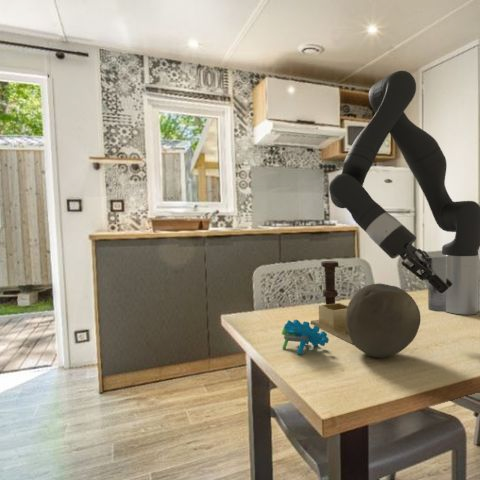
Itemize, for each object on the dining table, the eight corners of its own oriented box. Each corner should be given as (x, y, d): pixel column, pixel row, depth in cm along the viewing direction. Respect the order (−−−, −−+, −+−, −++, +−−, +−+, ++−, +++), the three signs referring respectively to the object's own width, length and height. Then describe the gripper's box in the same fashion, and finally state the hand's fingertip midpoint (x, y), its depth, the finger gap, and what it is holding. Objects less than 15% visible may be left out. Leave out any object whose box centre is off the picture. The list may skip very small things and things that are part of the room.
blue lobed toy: (337, 342, 77) (315, 317, 72) (330, 367, 74) (307, 343, 69) (296, 338, 84) (274, 316, 80) (288, 361, 81) (265, 339, 77)
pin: (436, 306, 82) (436, 256, 81) (450, 310, 78) (450, 257, 78) (424, 308, 81) (424, 257, 80) (438, 312, 77) (438, 258, 76)
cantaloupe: (382, 374, 64) (381, 294, 63) (332, 349, 77) (331, 282, 76) (435, 360, 70) (435, 286, 69) (380, 339, 83) (380, 277, 82)
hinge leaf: (346, 318, 101) (346, 300, 101) (393, 336, 84) (393, 315, 84) (310, 323, 97) (310, 304, 97) (352, 344, 80) (352, 321, 80)
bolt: (341, 305, 116) (340, 261, 115) (336, 309, 112) (336, 262, 111) (324, 304, 119) (323, 260, 119) (319, 307, 115) (318, 262, 114)
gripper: (392, 225, 78) (455, 283, 71) (409, 222, 89) (466, 273, 81) (368, 248, 82) (427, 305, 74) (388, 243, 92) (440, 293, 85)
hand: (447, 288), depth 78 cm, fingers closed on pin, 3 cm apart
